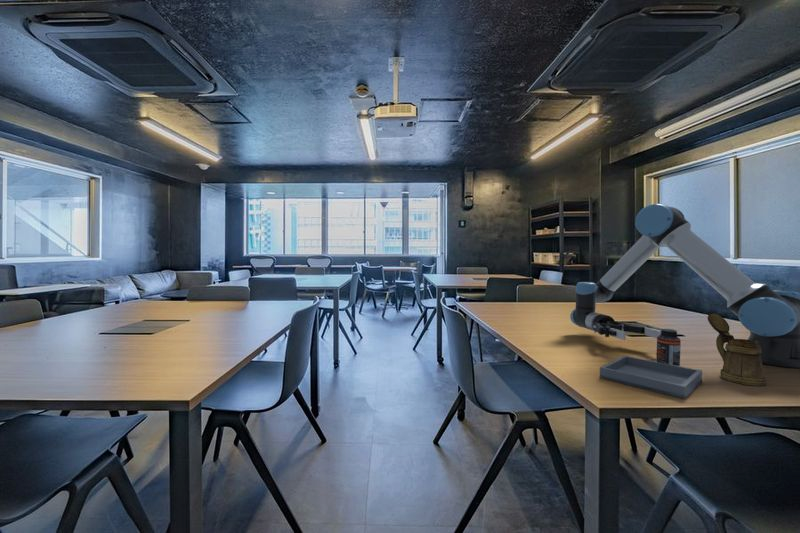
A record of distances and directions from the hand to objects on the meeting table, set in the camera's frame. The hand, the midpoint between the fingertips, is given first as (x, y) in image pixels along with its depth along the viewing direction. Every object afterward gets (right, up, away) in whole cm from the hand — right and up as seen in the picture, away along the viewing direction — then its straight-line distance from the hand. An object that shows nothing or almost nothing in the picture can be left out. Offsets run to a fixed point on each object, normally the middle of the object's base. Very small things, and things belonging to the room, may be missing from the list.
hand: (643, 335), depth 121 cm
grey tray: (-13, -8, -22) cm, 27 cm away
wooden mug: (+12, -8, -20) cm, 25 cm away
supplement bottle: (+1, -8, -10) cm, 12 cm away
